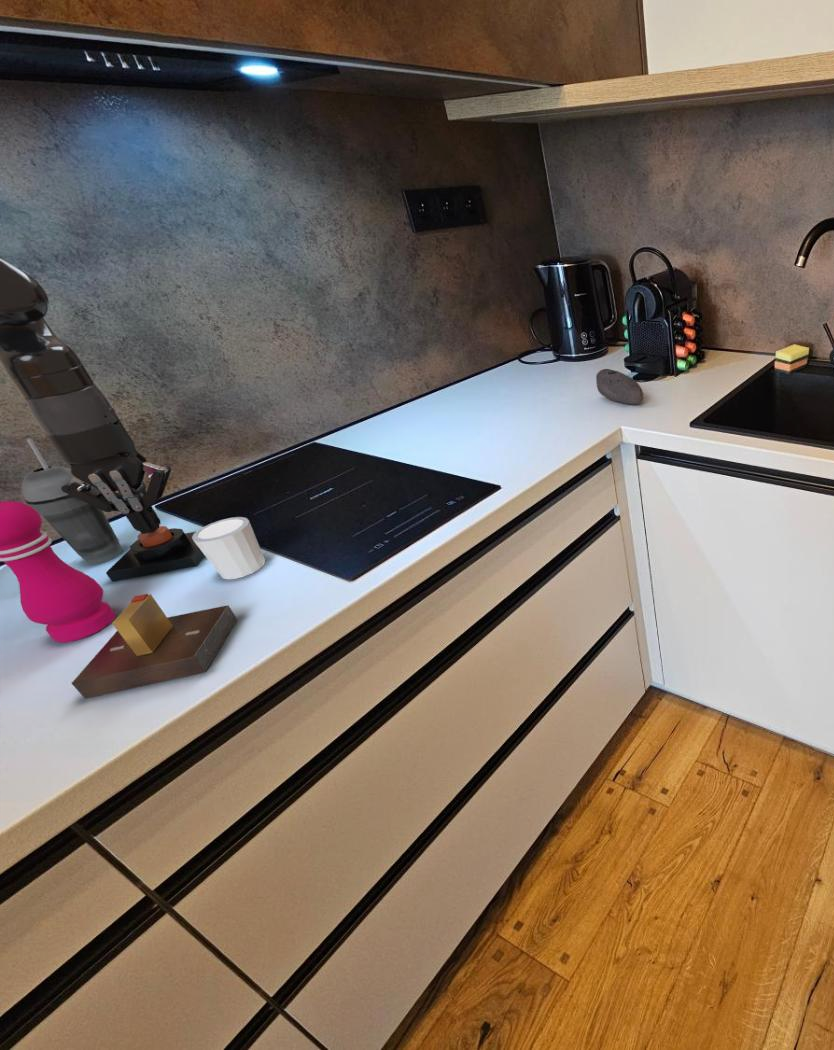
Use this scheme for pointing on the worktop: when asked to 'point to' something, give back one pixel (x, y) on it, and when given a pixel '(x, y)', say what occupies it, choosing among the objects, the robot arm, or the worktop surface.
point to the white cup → (230, 547)
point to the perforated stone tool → (619, 387)
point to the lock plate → (158, 654)
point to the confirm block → (157, 557)
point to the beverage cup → (69, 512)
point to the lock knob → (143, 624)
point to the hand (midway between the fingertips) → (151, 530)
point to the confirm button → (155, 537)
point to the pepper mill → (49, 578)
